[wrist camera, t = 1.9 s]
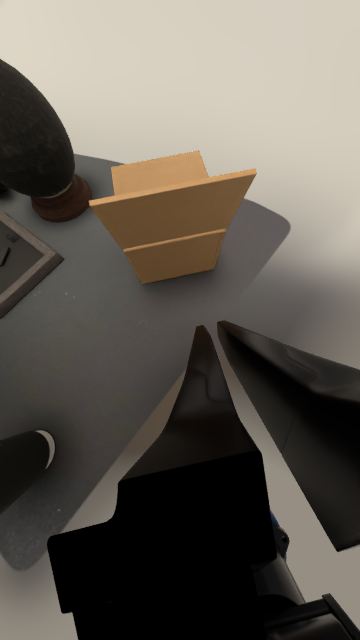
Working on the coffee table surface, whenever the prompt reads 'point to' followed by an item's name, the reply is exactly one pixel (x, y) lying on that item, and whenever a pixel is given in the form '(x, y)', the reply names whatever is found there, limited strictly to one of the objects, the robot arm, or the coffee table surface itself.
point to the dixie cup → (23, 463)
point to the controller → (2, 187)
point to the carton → (174, 253)
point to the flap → (173, 209)
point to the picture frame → (21, 262)
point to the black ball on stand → (37, 151)
